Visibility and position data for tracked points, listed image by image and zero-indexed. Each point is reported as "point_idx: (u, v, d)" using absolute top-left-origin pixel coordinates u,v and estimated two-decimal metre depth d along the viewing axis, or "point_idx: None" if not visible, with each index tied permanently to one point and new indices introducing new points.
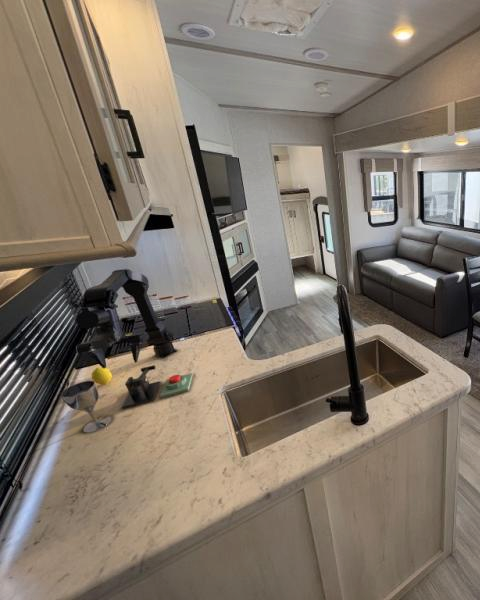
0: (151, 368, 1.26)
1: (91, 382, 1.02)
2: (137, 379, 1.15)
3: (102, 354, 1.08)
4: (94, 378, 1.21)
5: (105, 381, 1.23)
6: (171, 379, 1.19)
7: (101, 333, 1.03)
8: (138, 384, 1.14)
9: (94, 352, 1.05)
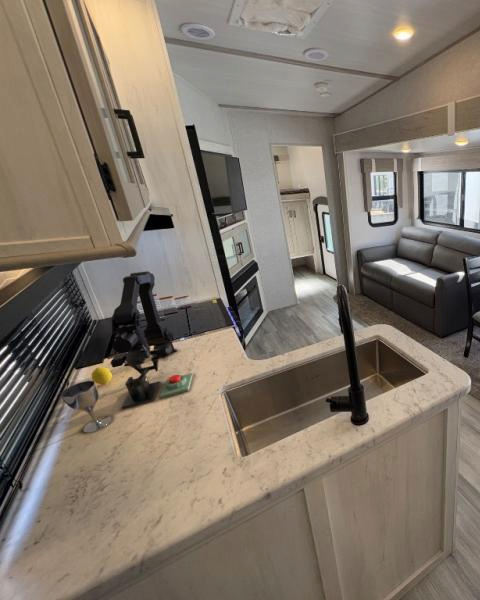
0: (151, 368, 1.26)
1: (91, 382, 1.02)
2: (137, 379, 1.15)
3: None
4: (94, 378, 1.21)
5: (105, 381, 1.23)
6: (171, 379, 1.19)
7: (133, 351, 1.19)
8: (138, 384, 1.14)
9: None
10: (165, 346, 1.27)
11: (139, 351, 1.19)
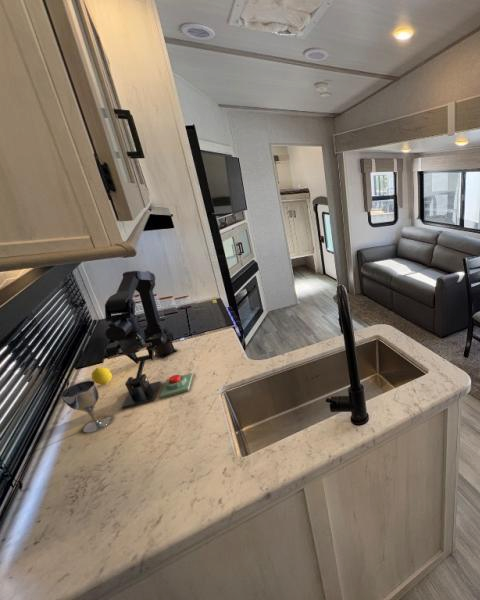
0: (146, 358, 1.24)
1: (91, 382, 1.02)
2: (137, 380, 1.14)
3: None
4: (94, 378, 1.21)
5: (105, 381, 1.23)
6: (171, 379, 1.19)
7: (127, 339, 1.16)
8: (139, 385, 1.14)
9: None
10: (160, 335, 1.24)
11: (134, 339, 1.17)
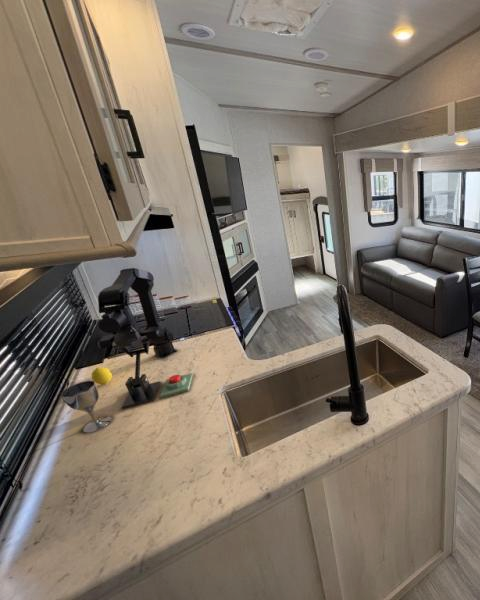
0: (142, 352, 1.21)
1: (91, 382, 1.02)
2: (137, 381, 1.14)
3: None
4: (94, 378, 1.21)
5: (105, 381, 1.23)
6: (171, 379, 1.19)
7: (121, 332, 1.13)
8: (139, 385, 1.15)
9: None
10: (156, 328, 1.21)
11: (128, 332, 1.13)
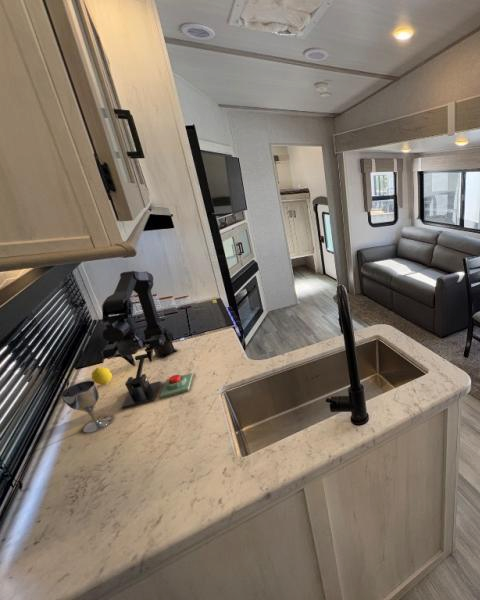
0: (146, 357, 1.24)
1: (91, 382, 1.02)
2: (137, 380, 1.14)
3: None
4: (94, 378, 1.21)
5: (105, 381, 1.23)
6: (171, 379, 1.19)
7: (124, 341, 1.14)
8: (139, 385, 1.15)
9: None
10: (158, 336, 1.22)
11: (131, 341, 1.14)
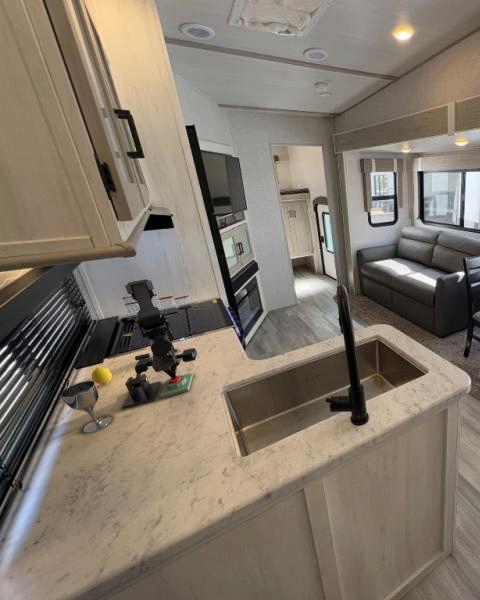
0: (146, 357, 1.24)
1: (91, 382, 1.02)
2: (137, 380, 1.14)
3: None
4: (94, 378, 1.21)
5: (105, 381, 1.23)
6: (171, 380, 1.19)
7: (158, 356, 1.11)
8: (139, 385, 1.15)
9: None
10: (191, 350, 1.19)
11: (165, 356, 1.12)
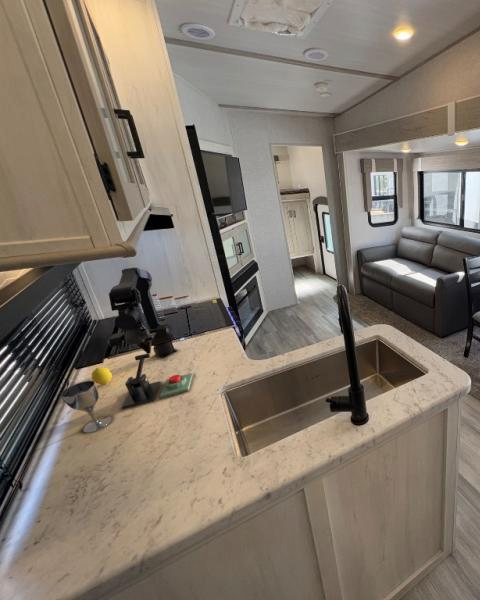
0: (146, 357, 1.24)
1: (91, 382, 1.02)
2: (137, 380, 1.14)
3: None
4: (94, 378, 1.21)
5: (105, 381, 1.23)
6: (171, 379, 1.19)
7: (131, 329, 1.13)
8: (139, 385, 1.15)
9: None
10: (165, 325, 1.22)
11: (138, 330, 1.14)
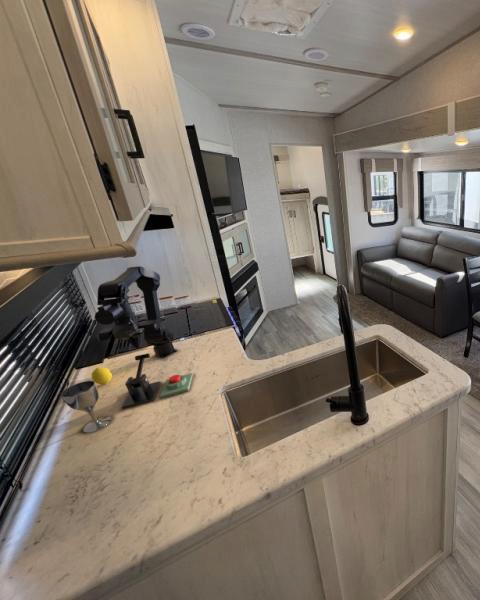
0: (146, 357, 1.24)
1: (91, 382, 1.02)
2: (137, 380, 1.14)
3: (133, 336, 1.24)
4: (94, 378, 1.21)
5: (105, 381, 1.23)
6: (171, 379, 1.19)
7: (120, 324, 1.16)
8: (139, 385, 1.15)
9: None
10: (153, 321, 1.24)
11: (126, 324, 1.16)
